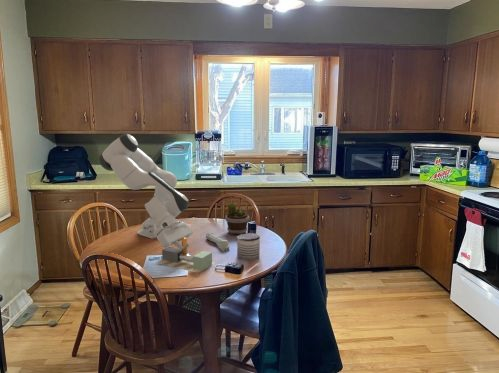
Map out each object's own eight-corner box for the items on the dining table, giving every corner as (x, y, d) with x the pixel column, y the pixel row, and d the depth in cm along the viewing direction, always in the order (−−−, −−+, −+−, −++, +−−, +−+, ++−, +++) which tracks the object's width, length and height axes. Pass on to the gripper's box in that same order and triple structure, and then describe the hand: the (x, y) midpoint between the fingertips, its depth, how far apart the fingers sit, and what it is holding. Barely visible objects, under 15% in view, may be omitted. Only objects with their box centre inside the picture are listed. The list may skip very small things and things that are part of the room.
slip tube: (166, 257, 185) (165, 235, 183) (170, 255, 187) (169, 234, 185) (193, 263, 178) (192, 241, 176) (196, 261, 180) (196, 239, 178)
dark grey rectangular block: (162, 259, 185) (162, 249, 184) (169, 256, 189) (168, 246, 188) (177, 262, 181) (177, 253, 180) (183, 259, 185) (183, 249, 184)
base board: (155, 264, 181) (155, 262, 181) (174, 254, 194) (174, 253, 193) (198, 275, 170) (198, 272, 170) (215, 264, 182) (215, 262, 182)
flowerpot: (248, 228, 239) (249, 197, 235) (249, 236, 224) (249, 203, 220) (225, 228, 238) (225, 197, 234) (224, 236, 223) (224, 203, 219)
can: (242, 263, 183) (242, 240, 181) (233, 255, 194) (233, 233, 191) (263, 260, 188) (263, 237, 186) (254, 252, 198) (254, 230, 196)
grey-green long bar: (213, 231, 220) (231, 238, 198) (213, 243, 220) (231, 251, 198) (204, 233, 218) (221, 240, 195) (205, 244, 218) (222, 252, 196)
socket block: (193, 268, 175) (193, 256, 174) (203, 262, 182) (203, 250, 181) (202, 270, 172) (202, 258, 171) (212, 264, 179) (211, 252, 178)
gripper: (178, 223, 193) (194, 244, 191) (150, 234, 175) (168, 258, 173) (185, 216, 190) (201, 237, 188) (158, 226, 172) (175, 250, 170)
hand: (185, 247), depth 180 cm, fingers open, 3 cm apart
